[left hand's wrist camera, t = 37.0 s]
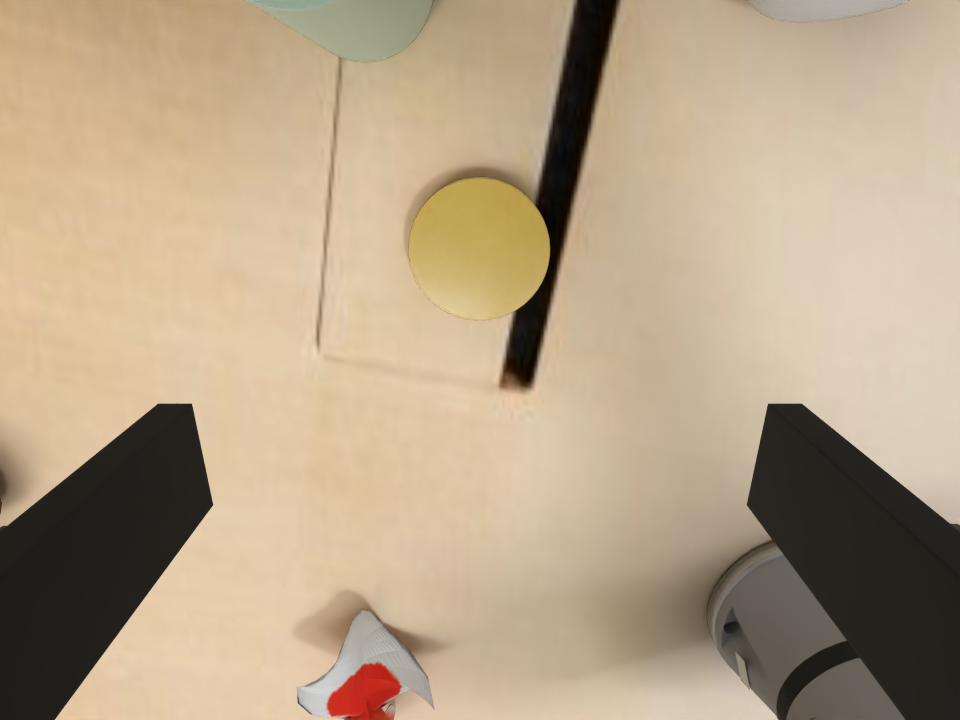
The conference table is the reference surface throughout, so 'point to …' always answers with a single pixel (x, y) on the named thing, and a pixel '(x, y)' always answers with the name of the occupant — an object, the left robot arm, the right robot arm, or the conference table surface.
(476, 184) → the lid
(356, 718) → the fish
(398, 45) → the jar
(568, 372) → the conference table surface
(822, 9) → the projector
